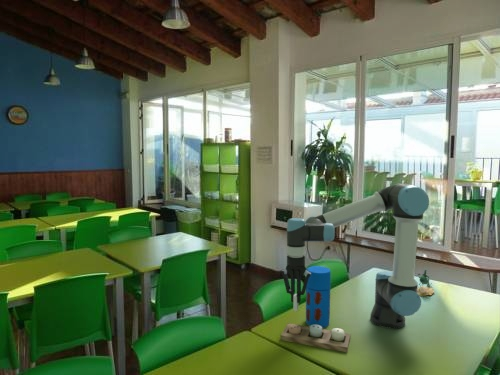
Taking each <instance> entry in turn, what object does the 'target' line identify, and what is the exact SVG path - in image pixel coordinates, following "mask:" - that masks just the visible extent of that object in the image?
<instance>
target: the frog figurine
mask: <svg viewBox="0 0 500 375" xmlns="http://www.w3.org/2000/svg"><path fill="white" fill-rule="evenodd" d="M417 276H418V278H419V283H418V287H417V293H418V294H419V296H420V297H425V296H432V295H433V294H434V293H435V291H434V287H433V286H431V285H433V283H432V282H431V283H430V276H429V275H428V274H427V268H425V269H424V272H423V274H422V275H421V274H420V273H417ZM424 285H426V286H424Z"/></svg>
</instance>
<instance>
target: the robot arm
mask: <svg viewBox="0 0 500 375" xmlns="http://www.w3.org/2000/svg"><path fill="white" fill-rule="evenodd" d="M429 205H430V198H429V195H428V193H427V192H426V191H425V190H424V189H423V188H421V187H419V186H418V185H415V184H413V185H412V184H407V183H401V182H399V183H395V184H392V185H389V186H386V187H384V188H382V189H379V190H376V191H374V193H373V194H372V195H369V196H367V197H364V198H362V199H360V200H356V201H354V202H351V203H348V204H346V205H343V206H340V207H338V208H335V209H333V210H330V211H327V212H325V213H323V214H320V215H317V216H309V217H308V218H306V219H304V218H301V217H300V218H299V217H292V218H288V220H287V223H286V224H287V225H286V267H285V268H283V269H282V270H280V274H281V275H282V279H283V282H284V286H285V291H286V293H287V294H290V302H291V303H293V305H292V306H293V307H292V308H293V309H292V310H293V311H294V312H297V311H298V310H299V304H300V303H301V301H302V300H301V299H302V298H301V297H302V296H304V295H305V294H306V287H307V283H308V279H309V277H310V275H311V272H308V271H307V268H306V267H307V266H306V242H324V243H325V242H333V241H334V239H335V233H336V232H335V228H337V227H338V228H339V227H340V226H343V225H346V224H348V223H351V222H353V221H356V220H359V219H361V218H364V217H366V216H367V217H368V216H369V215H372V214H375V213H378V212H383V213H385V212H386V211H390V210H392V217H393V218H394V220H395V229H394V230H395V231H394V232H395V233H394V246H393V260H392V271H379V272H377V273H376V275H375V294H374V305H373V307H372V310H371V312H370V321H371V322H372V323H373V324H374V325H376V326H379V327H381V328H385V329H386V328H387V329H401V328H403V327H405V326H406V317H409V316H413V315H414V314H415V313H417V312H418V311H419V310H420V308H421V306H422V299H421V296H419V294H418V293H417V288H418V287H419V283H418V282H417V280H416V279H415V273H416V272H415V271H416V259H417V257H416V256H417V248H418V245H417V243H418V233H419V232H418V231H419V223H420V222H421V221H423V218H424V213H425V212H426V211H427V210H428V209H429ZM288 275H289V276H290V279H289V276H288ZM303 275H304V276H305V278H304V280H303V284H302V276H303ZM289 280H290V282H289Z"/></svg>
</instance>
